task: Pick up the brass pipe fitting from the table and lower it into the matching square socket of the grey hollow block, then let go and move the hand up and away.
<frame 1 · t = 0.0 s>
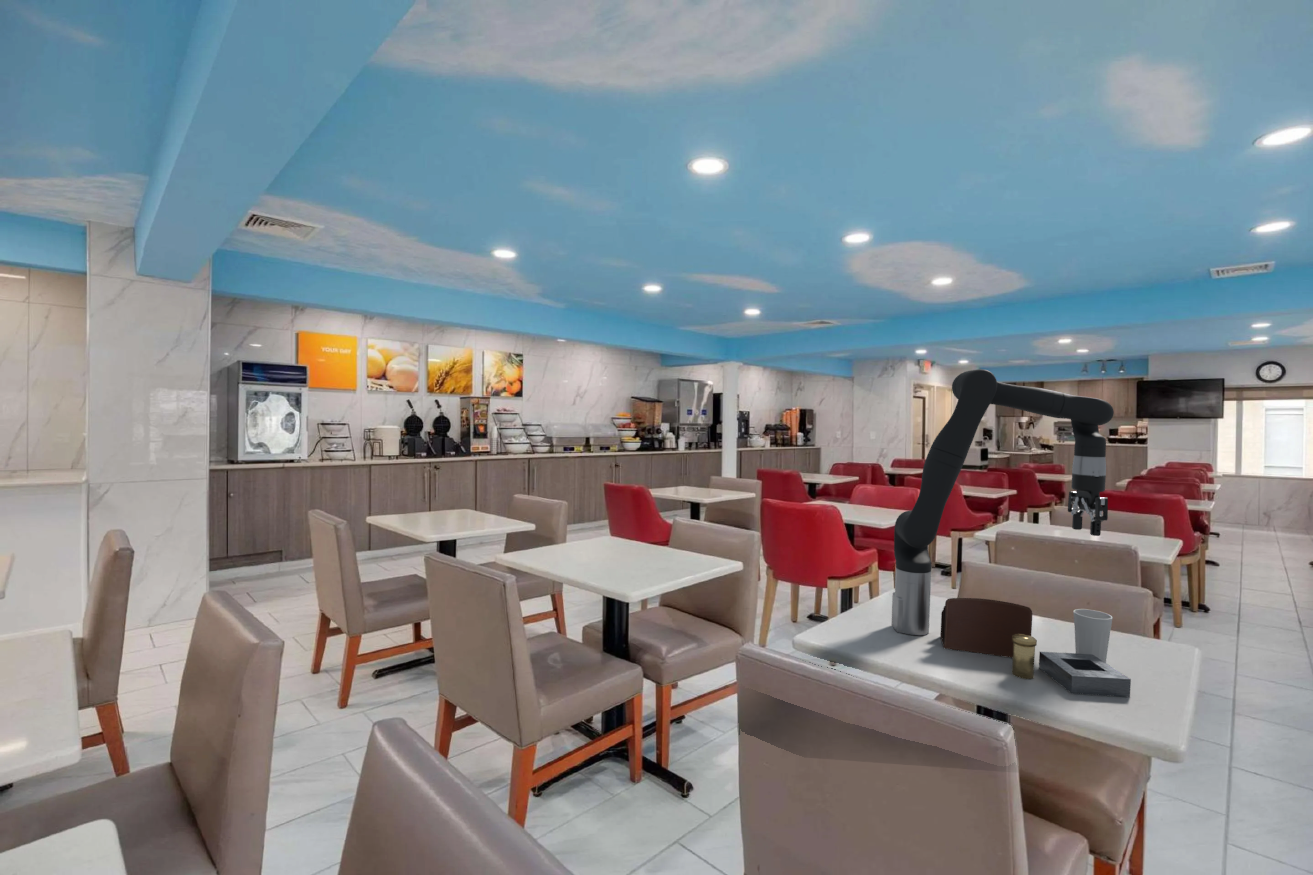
hand: (1085, 532, 171), 29 cm above the table, tool pointing down, fingers open, 8 cm apart
fitting: (1022, 675, 147), on the table
cup: (1090, 662, 156), on the table
letter holder: (983, 649, 164), on the table
grey hollow block: (1082, 681, 144), on the table
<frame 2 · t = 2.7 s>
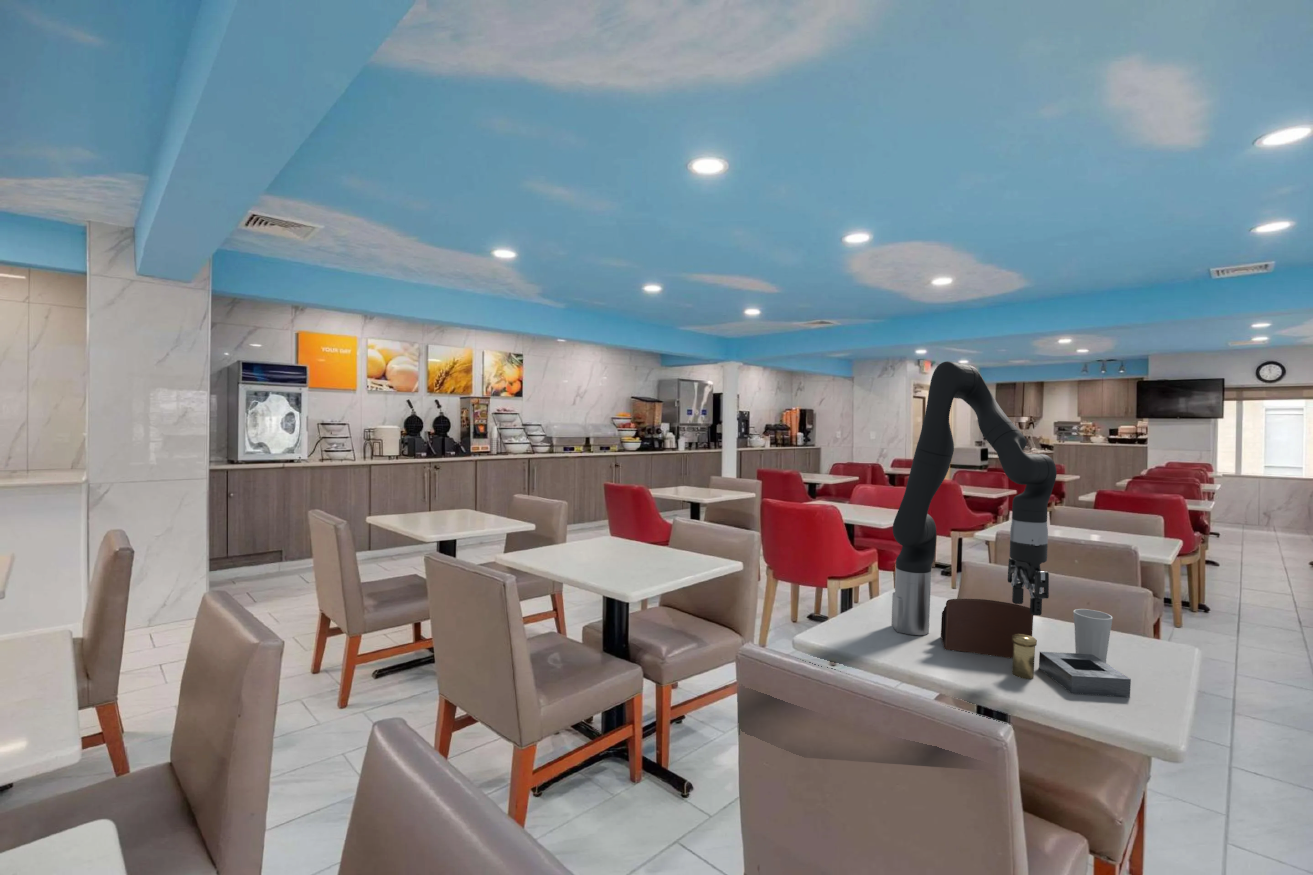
hand: (1026, 608, 147), 16 cm above the table, tool pointing down, fingers open, 8 cm apart
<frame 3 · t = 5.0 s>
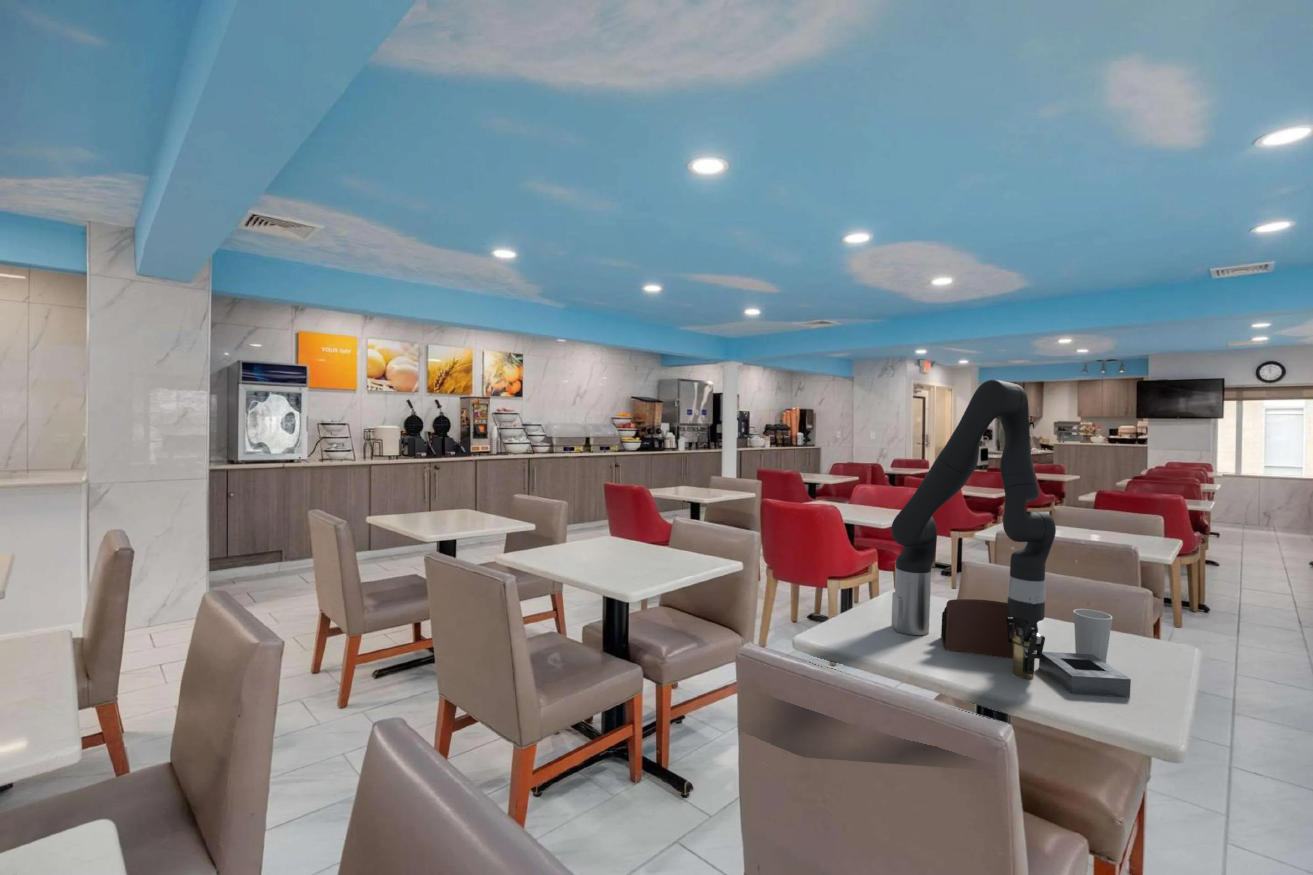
hand: (1023, 668, 147), 2 cm above the table, tool pointing down, fingers closed on fitting, 4 cm apart
fitting: (1022, 674, 147), on the table, touching gripper
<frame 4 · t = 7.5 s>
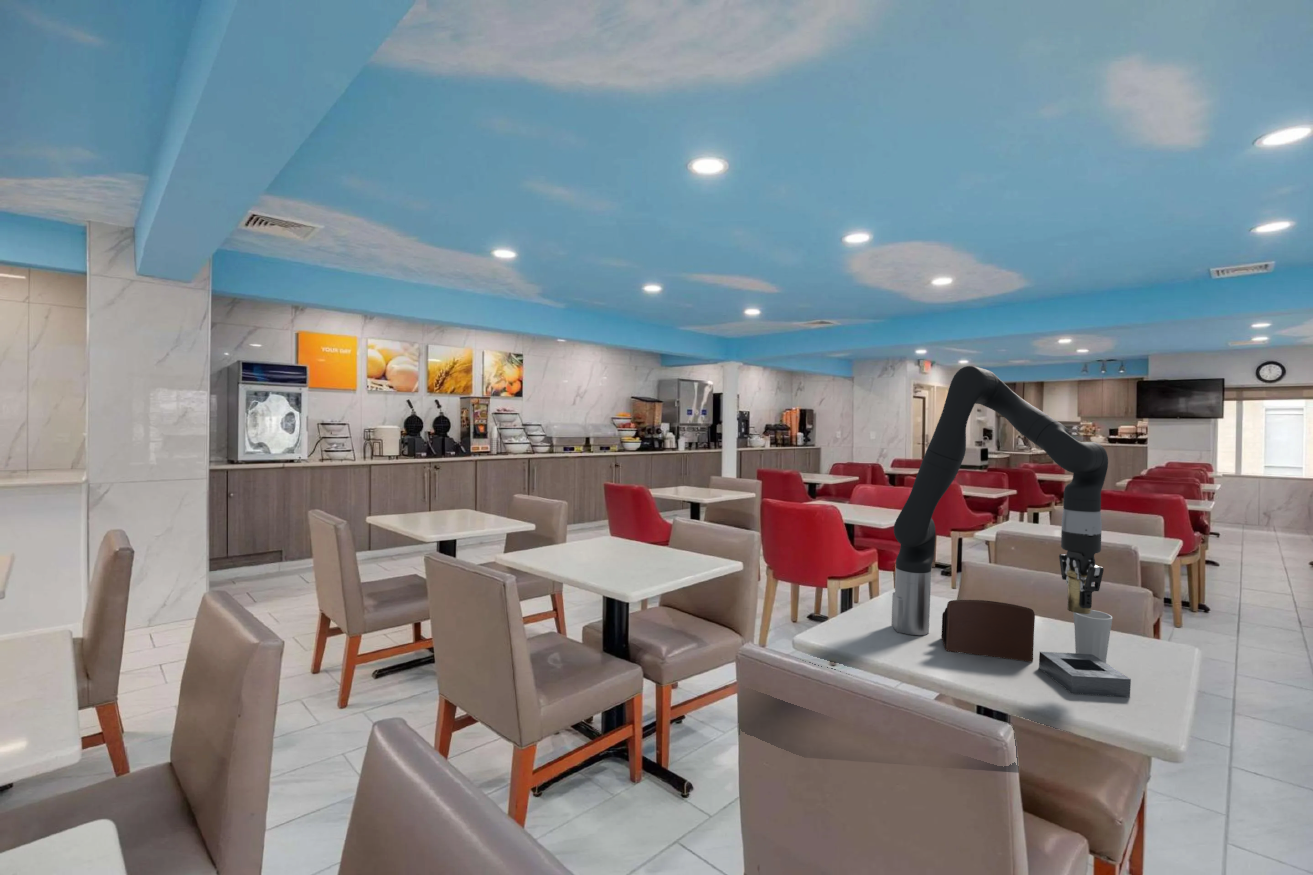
hand: (1079, 604, 143), 18 cm above the table, tool pointing down, fingers closed on fitting, 4 cm apart
fitting: (1078, 610, 143), point 16 cm above the table, touching gripper
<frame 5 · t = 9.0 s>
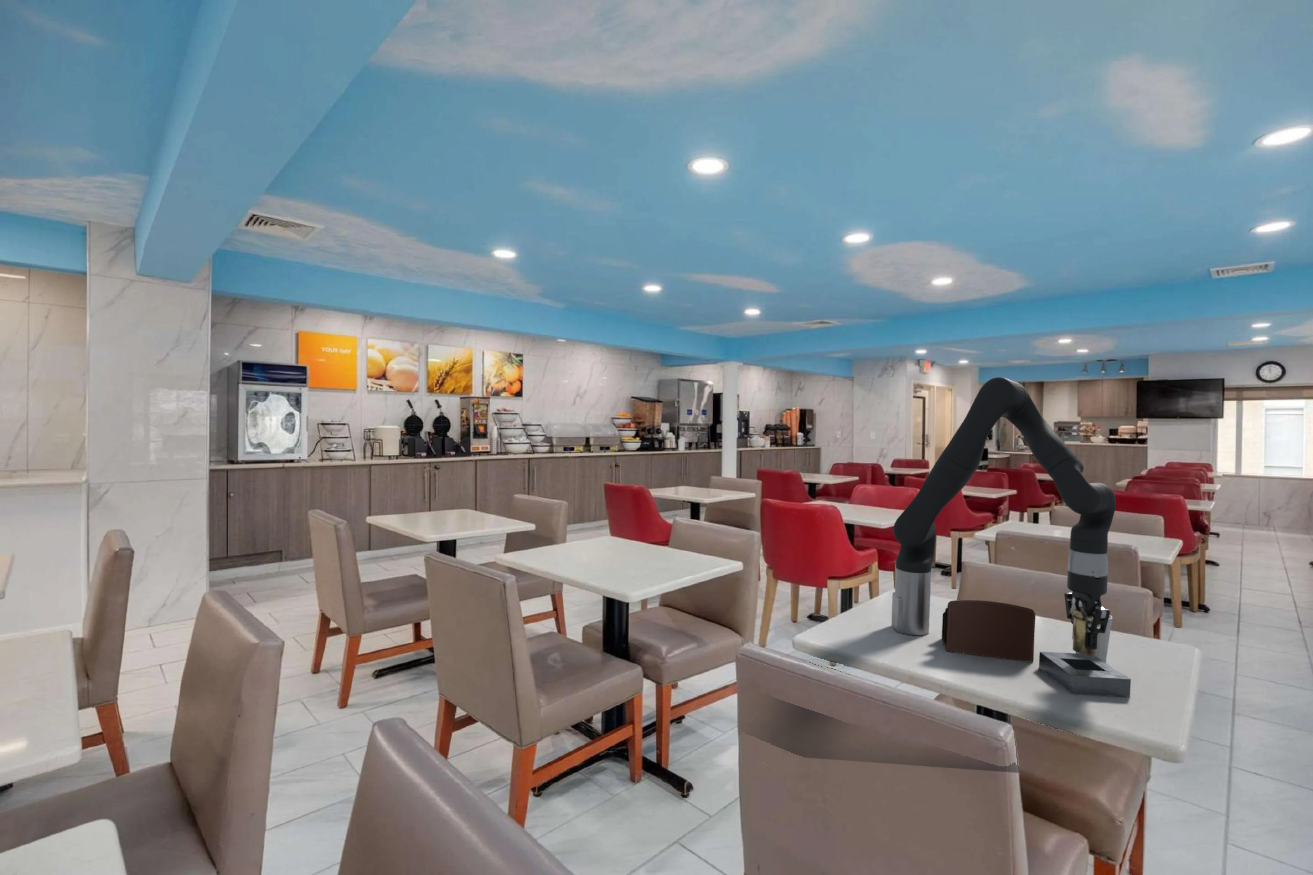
hand: (1084, 644, 144), 9 cm above the table, tool pointing down, fingers closed on fitting, 4 cm apart
fitting: (1084, 650, 144), point 7 cm above the table, touching gripper
when the fingers open (4 cm above the table, at t = 10.3 s): fitting drops 3 cm, resting in grey hollow block.
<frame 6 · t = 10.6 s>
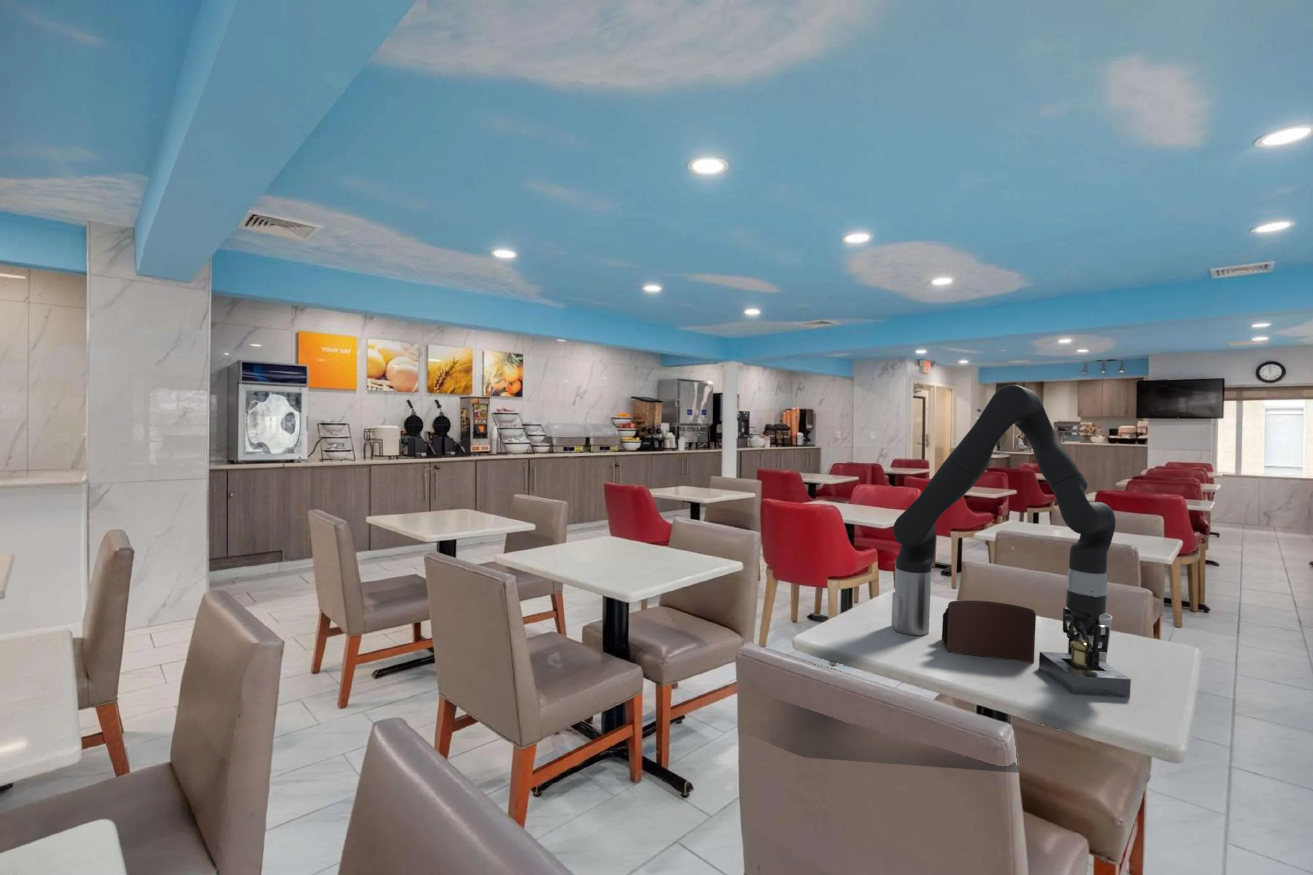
hand: (1083, 661, 144), 5 cm above the table, tool pointing down, fingers open, 7 cm apart
fitting: (1081, 681, 144), resting in grey hollow block
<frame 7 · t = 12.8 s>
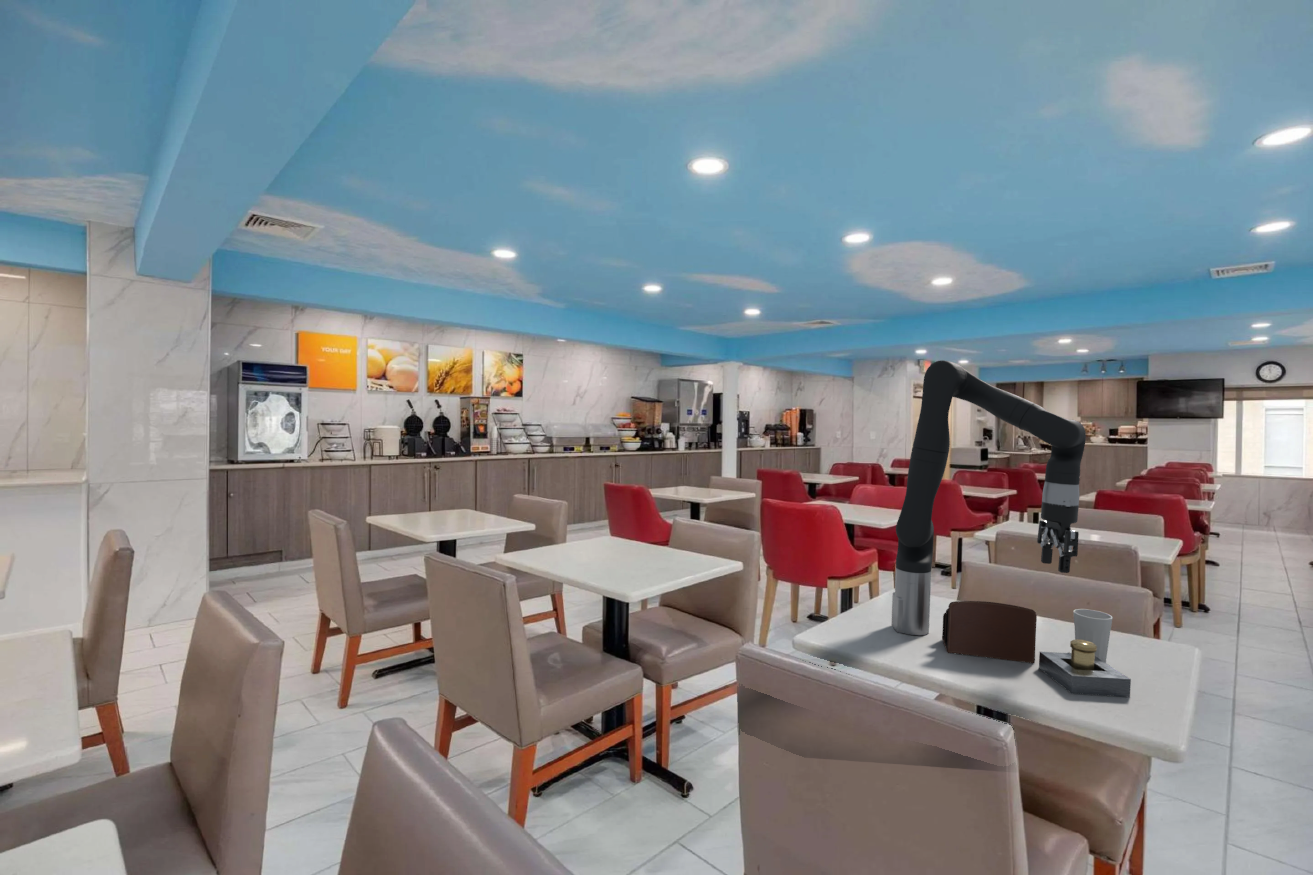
hand: (1054, 567, 153), 24 cm above the table, tool pointing down, fingers open, 8 cm apart
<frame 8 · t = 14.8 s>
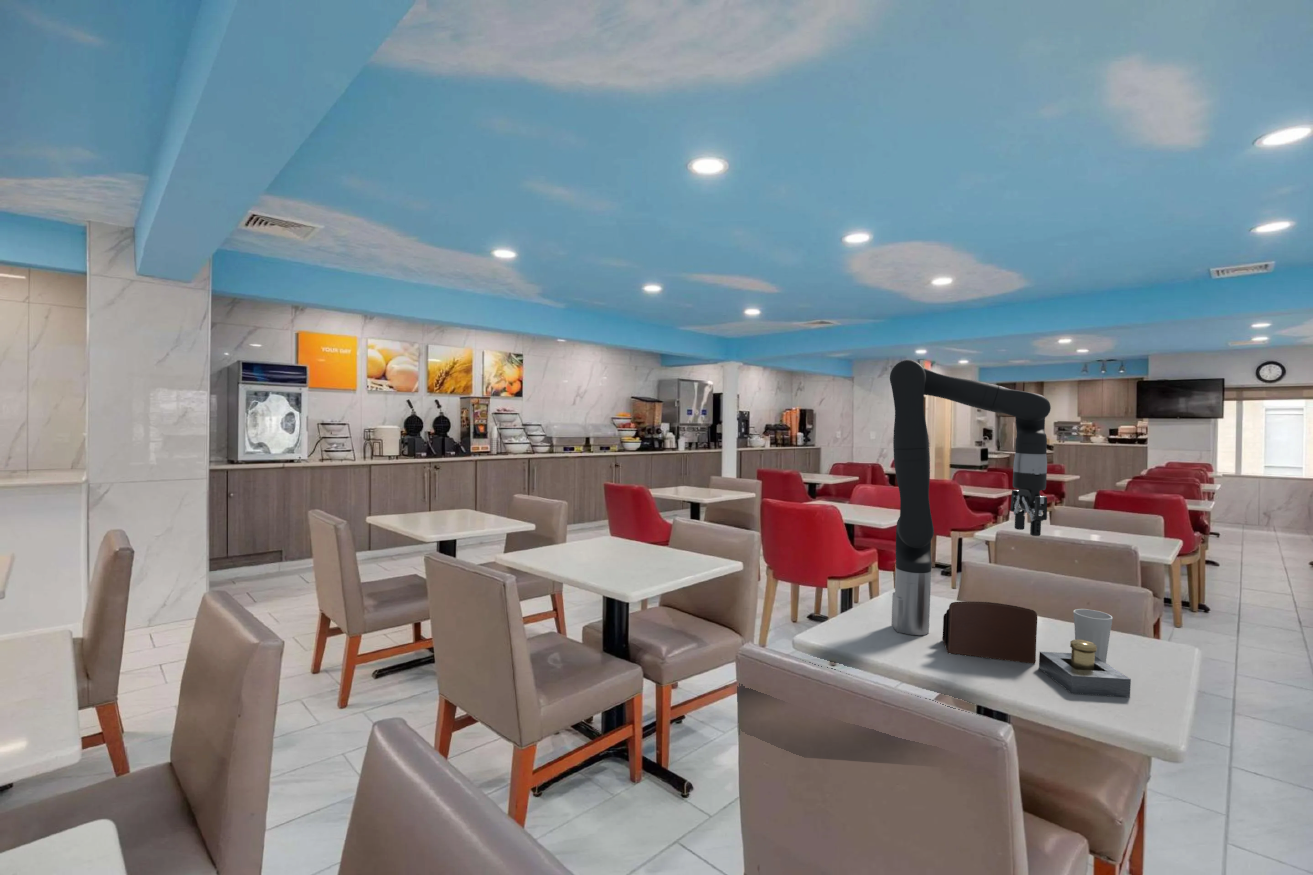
hand: (1027, 532, 165), 30 cm above the table, tool pointing down, fingers open, 8 cm apart
at the end: fitting 0.1 cm off-centre on the grey hollow block, point 0.0 cm above the grey hollow block's base; fitting tilted 0°; the gripper is holding nothing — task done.
